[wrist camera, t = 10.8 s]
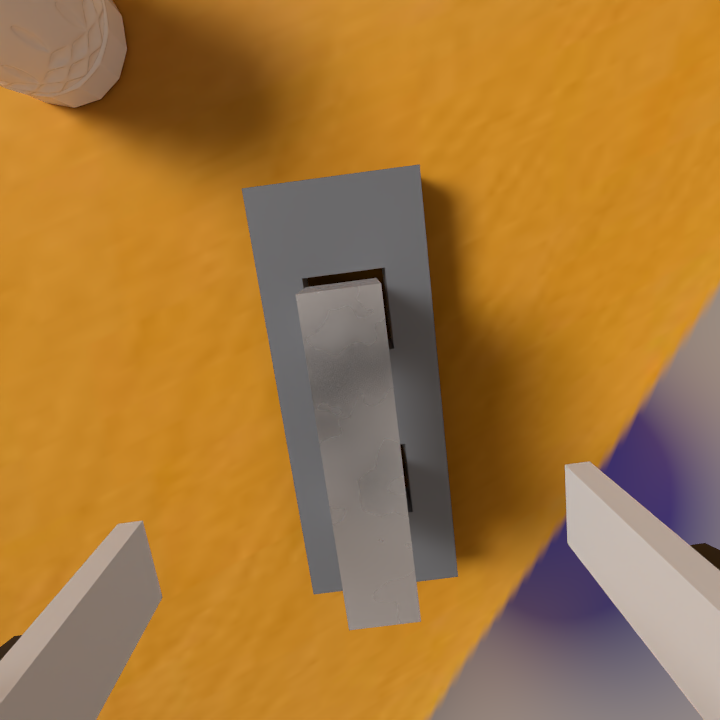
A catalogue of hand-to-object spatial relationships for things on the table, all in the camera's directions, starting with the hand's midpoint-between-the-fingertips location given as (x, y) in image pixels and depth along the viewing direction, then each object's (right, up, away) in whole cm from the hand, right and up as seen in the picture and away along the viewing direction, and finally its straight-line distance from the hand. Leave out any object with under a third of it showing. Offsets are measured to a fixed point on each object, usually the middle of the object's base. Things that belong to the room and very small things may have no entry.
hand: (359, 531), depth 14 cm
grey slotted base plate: (0, +4, +14) cm, 15 cm away
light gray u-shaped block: (0, +4, +14) cm, 15 cm away
